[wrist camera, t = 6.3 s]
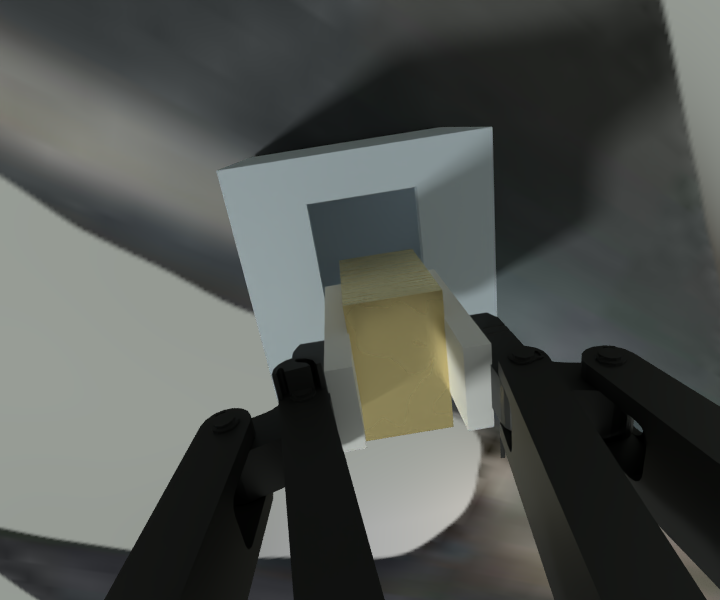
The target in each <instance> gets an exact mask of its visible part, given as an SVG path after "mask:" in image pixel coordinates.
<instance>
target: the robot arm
mask: <svg viewBox="0 0 720 600" xmlns="http://www.w3.org/2000/svg"><path fill="white" fill-rule="evenodd" d="M428 271H429V272H430V274H431V275H432V277H433V278H434V279H435V281H436V282H437V283H438V285H439V286H440V287H441V289H442V292H443V304H444V316H445V317H444V325H445V337H446V349H447V361H448V373H449V385H450V393H451V395H452V397H453V399H454V402H455V404H456V406H457V408H458V410H459V412H460V414H461V417H462V419H463V421H464V423H465V425H466V427H467V429H468V431H471V430H477V429H483V428H489V427H494V412H495V414H496V415H497V417H498V419H499V420H500V444H501V458H505V452H506V455H507V458H508V461H509V464H510V467H511V470H512V473H513V476H514V479H515V482H516V485H517V488H518V491H519V494H520V497H521V500H522V503H523V506H524V509H525V512H526V515H527V518H528V521H529V524H530V527H531V530H532V533H533V536H534V539H535V542H536V545H537V548H538V551H539V554H540V558H541V561H542V564H543V567H544V570H545V573H546V576H547V579H548V582H549V585H550V588H551V591H552V594H553V597H554V600H706V598H705V596H704V595H703V593H702V592H701V590H700V589H699V587H698V586H697V584H696V583H695V581H694V580H693V578H692V576H691V575H690V573H689V572H688V570H687V569H686V567H685V566H684V564H683V563H682V561H681V559H680V558H679V556H678V555H677V553H676V552H675V550H674V549H673V547H672V546H671V544H670V543H669V541H668V539H667V538H666V536H665V535H664V533H663V532H662V530H661V529H660V527H661V528H662V529H663V530H664V532H665V533H666V534H667V535H668V536H669V537H670V538H671V539H672V540H673V541H674V542H675V543H676V544H677V545H678V546H679V547H680V548H681V549H682V550H683V551H684V552H685V553H686V554H687V555H688V557H689V558H690V559H691V560H692V561H693V562H694V563H695V564H696V565H697V566H698V567H699V568H700V569H701V570H702V571H703V572H704V573H705V574H706V575H707V576H708V577H709V578H710V579H711V580H712V582H713V583H714V584H715V585H716V586H717V587H718V588H719V589H720V406H718V405H716V404H715V403H713V402H712V401H710V400H708V399H707V398H705V397H703V396H702V395H700V394H699V393H697V392H695V391H694V390H692V389H691V388H689V387H687V386H686V385H684V384H683V383H681V382H679V381H678V380H676V379H674V378H673V377H671V376H670V375H668V374H666V373H665V372H663V371H662V370H660V369H658V368H657V367H655V366H654V365H652V364H650V363H649V362H647V361H645V360H644V359H642V358H641V357H639V356H637V355H636V354H634V353H632V352H630V351H628V350H626V349H622V348H618V347H615V346H596V347H591V348H589V349H586V350H585V351H584V352H583V353H582V359H581V363H564V362H552V361H551V359H550V358H549V356H548V355H547V354H546V353H545V352H544V351H542V350H540V349H537V348H534V347H529V346H524V345H523V344H522V343H521V342H520V341H519V340H518V339H517V338H516V336H515V335H514V334H513V333H512V332H511V331H510V330H509V329H508V328H507V327H506V326H505V325H504V323H503V322H502V321H501V320H500V319H499V318H498V317H496V316H494V315H492V314H489V313H487V312H486V313H480V314H474V315H469V314H468V313H467V311H466V310H465V309H464V308H463V306H462V305H461V304H460V302H459V301H458V300H457V298H456V297H455V296H454V295H453V293H452V292H451V291H450V289H449V288H448V287H447V286H446V284H445V283H444V282H443V280H442V279H441V278H440V276H439V275H438V274H437V273H436V271H435V270H434V269H431V270H428ZM272 379H273V382H274V386H275V390H276V394H277V398H278V402H279V405H278V406H277V407H275V408H274V409H273V410H271V411H268V412H267V413H264V414H262V415H259V416H256V417H253V418H251V415H250V414H249V412H248V411H246V410H244V409H240V408H232V409H227V410H223V411H220V412H218V413H216V414H214V415H212V416H211V417H210V418H208V419H207V420H205V422H204V423H203V424H202V425H201V426H200V428H199V430H198V432H197V434H196V435H195V437H194V439H193V441H192V442H191V444H190V446H189V448H188V450H187V451H186V453H185V455H184V457H183V459H182V461H181V462H180V464H179V466H178V468H177V470H176V471H175V473H174V475H173V477H172V479H171V480H170V482H169V484H168V486H167V488H166V489H165V491H164V493H163V495H162V497H161V498H160V500H159V502H158V504H157V506H156V507H155V509H154V511H153V513H152V515H151V516H150V518H149V520H148V522H147V524H146V526H145V527H144V529H143V531H142V533H141V534H140V536H139V538H138V540H137V542H136V544H135V545H134V547H133V549H132V551H131V552H130V554H129V556H128V558H127V560H126V561H125V563H124V565H123V567H122V569H121V570H120V572H119V574H118V576H117V578H116V579H115V581H114V583H113V585H112V587H111V589H110V590H109V592H108V594H107V596H106V598H105V599H104V600H248V596H249V592H250V588H251V584H252V580H253V576H254V572H255V568H256V564H257V560H258V556H259V552H260V548H261V544H262V540H263V536H264V533H265V529H266V525H267V521H268V517H269V513H270V509H271V504H272V501H273V492H275V491H277V490H280V489H282V488H284V487H285V492H286V505H287V516H288V517H287V518H288V530H289V542H290V556H291V569H292V582H293V595H294V600H385V599H384V596H383V592H382V589H381V585H380V581H379V578H378V574H377V570H376V567H375V563H374V560H373V556H372V552H371V549H370V545H369V542H368V538H367V534H366V531H365V527H364V524H363V520H362V516H361V513H360V509H359V505H358V502H357V498H356V494H355V491H354V487H353V484H352V480H351V476H350V473H349V469H348V466H347V462H346V458H345V455H344V452H347V451H352V450H359V449H364V448H367V445H366V437H365V429H364V421H363V413H362V406H361V400H360V394H359V389H358V383H357V377H356V372H355V366H354V360H353V354H352V349H351V343H350V337H349V333H347V329H346V323H345V317H344V312H343V306H342V292H341V284H339V285H333V286H327V287H325V327H324V340H323V341H317V342H311V343H305V344H300V345H299V346H298V347H297V348H296V349H295V350H294V352H293V354H292V358H291V359H288V360H285V361H283V362H282V363H280V364H278V365H277V366H276V367H275V368H274V369H273V372H272ZM634 420H635V421H636V422H637V423H638V424H639V425H640V426H641V427H642V429H643V433H642V432H640V431H639V430H638V429H636V428H635V427H634V426H633V422H634ZM658 525H659V526H660V527H659V526H658Z"/></svg>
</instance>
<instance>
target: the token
mask: <svg viewBox="0 0 720 600" xmlns="http://www.w3.org/2000/svg"><path fill="white" fill-rule="evenodd" d="M339 265H340V278H341V292H342V306H343V312H344V317H345V323H346V329H347V333H349V337H350V343H351V349H352V354H353V360H354V366H355V372H356V377H357V383H358V389H359V394H360V400H361V406H362V413H363V421H364V429H365V437H366V441H370V440H376V439H382V438H388V437H394V436H400V435H406V434H412V433H418V432H424V431H430V430H436V429H443V428H449V427H453V414H452V402H451V393H450V385H449V373H448V361H447V349H446V337H445V325H444V317H445V316H444V304H443V292H442V289H441V287H440V286H439V285H438V283H437V282H436V281H435V279H434V278H433V277H432V275H431V274H430V272H429V271H428V270H427V268H426V267H425V266H424V264H423V263H422V261H421V260H420V259H419V257H418V256H417V255H416V253H415V252H414V251H413V249H407V250H401V251H395V252H388V253H382V254H376V255H370V256H364V257H357V258H351V259H345V260H339Z"/></svg>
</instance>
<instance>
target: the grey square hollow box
mask: <svg viewBox="0 0 720 600" xmlns="http://www.w3.org/2000/svg"><path fill="white" fill-rule="evenodd" d="M217 175H218V178H219V182H220V186H221V190H222V194H223V197H224V201H225V205H226V209H227V212H228V216H229V220H230V224H231V227H232V231H233V235H234V239H235V242H236V246H237V250H238V254H239V257H240V261H241V265H242V269H243V272H244V276H245V280H246V284H247V288H248V291H249V295H250V299H251V303H252V306H253V310H254V314H255V318H256V321H257V325H258V329H259V332H260V336H261V340H262V344H263V348H264V351H265V355H266V359H267V362H268V366H269V370H270V374H271V378H272V372H273V369H274V368H275V367H276V366H277V365H278V364H280V363H282V362H283V361H285V360H288V359H291V358H292V354H293V352H294V350H295V349H296V348H297V347H298V346H299V345H300V344H305V343H311V342H317V341H323V340H324V327H325V287H327V286H333V285H339V284H341V278H340V265H339V260H345V259H351V258H357V257H364V256H370V255H376V254H382V253H388V252H395V251H401V250H407V249H413V251H414V252H415V253H416V255H417V256H418V257H419V259H420V260H421V261H422V263H423V264H424V266H425V267H426V268H427V270H431V269H434V270H435V271H436V273H437V274H438V275H439V276H440V278H441V279H442V280H443V282H444V283H445V284H446V286H447V287H448V288H449V289H450V291H451V292H452V293H453V295H454V296H455V297H456V298H457V300H458V301H459V302H460V304H461V305H462V306H463V308H464V309H465V310H466V311H467V313H468V314H469V315H474V314H480V313H486V312H487V313H489V314H492V315H494V316H496V317H497V294H496V254H495V213H494V172H493V132H492V127H438V128H432V129H425V130H419V131H413V132H407V133H400V134H394V135H388V136H381V137H375V138H369V139H363V140H356V141H350V142H344V143H338V144H331V145H325V146H319V147H312V148H306V149H300V150H294V151H287V152H281V153H275V154H268V155H262V156H256V157H250V158H248V159H245V160H243V161H240V162H238V163H235V164H233V165H230V166H227V167H225V168H222V169H220V170H217ZM272 381H273V379H272ZM273 385H274V382H273ZM274 389H275V386H274ZM275 392H276V390H275ZM276 396H277V394H276ZM277 400H278V398H277Z"/></svg>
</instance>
